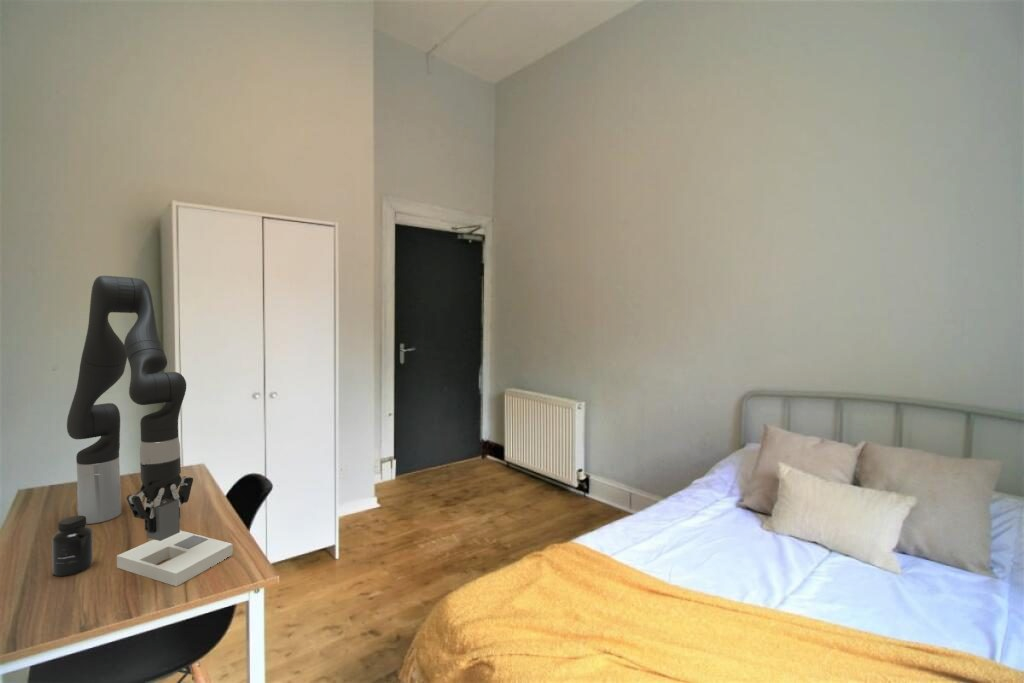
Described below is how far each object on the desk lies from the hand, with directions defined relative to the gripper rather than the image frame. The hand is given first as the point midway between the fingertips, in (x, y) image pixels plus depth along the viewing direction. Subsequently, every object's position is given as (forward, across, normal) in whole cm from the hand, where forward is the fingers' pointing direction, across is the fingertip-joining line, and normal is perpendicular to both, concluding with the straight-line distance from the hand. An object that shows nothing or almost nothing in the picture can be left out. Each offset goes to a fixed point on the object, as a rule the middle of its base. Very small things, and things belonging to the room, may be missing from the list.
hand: (163, 527), depth 109 cm
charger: (+2, 0, 0) cm, 2 cm away
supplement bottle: (+10, +8, -19) cm, 23 cm away
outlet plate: (+10, -3, 0) cm, 10 cm away
